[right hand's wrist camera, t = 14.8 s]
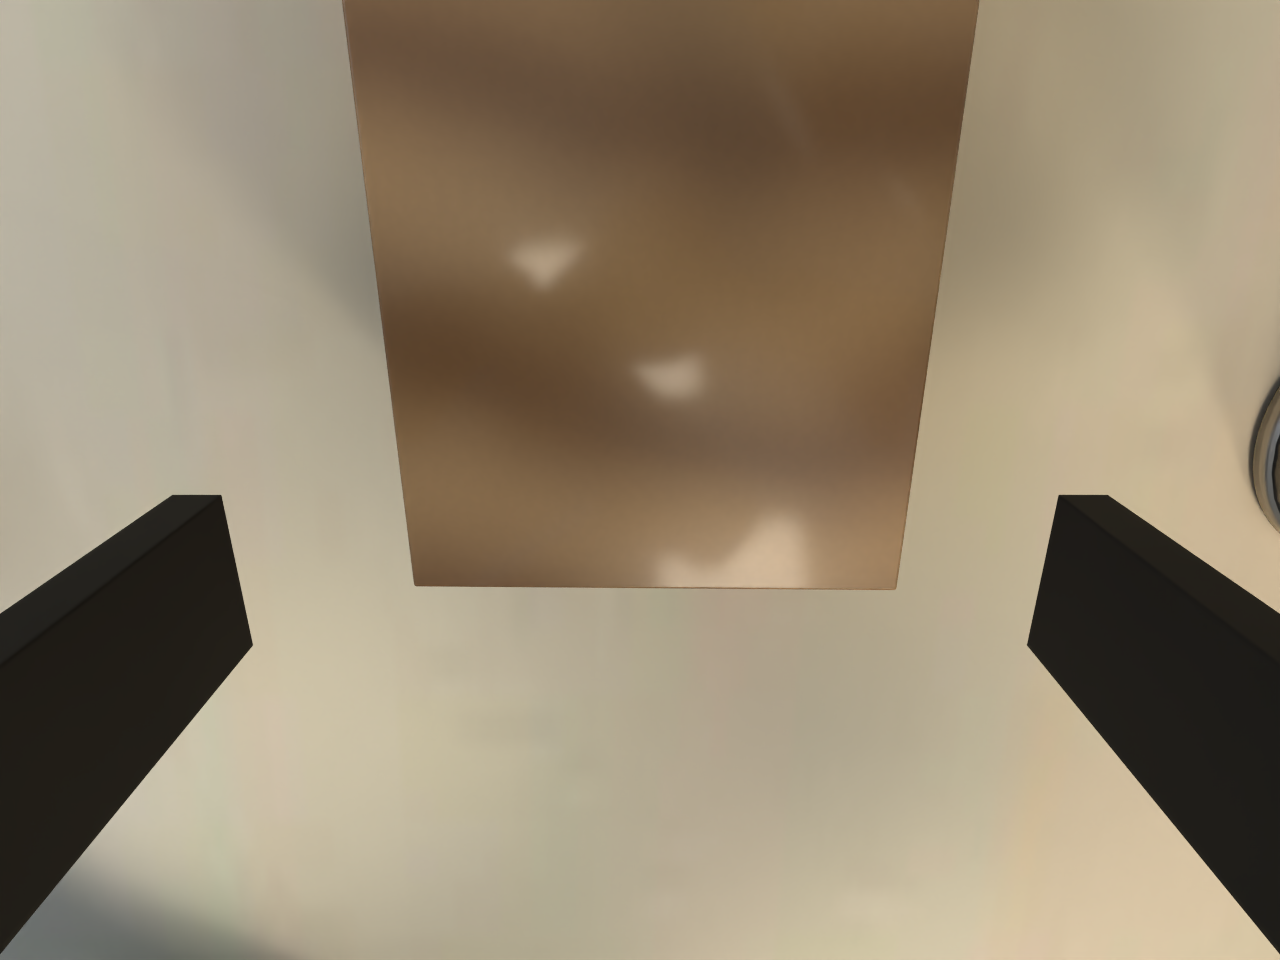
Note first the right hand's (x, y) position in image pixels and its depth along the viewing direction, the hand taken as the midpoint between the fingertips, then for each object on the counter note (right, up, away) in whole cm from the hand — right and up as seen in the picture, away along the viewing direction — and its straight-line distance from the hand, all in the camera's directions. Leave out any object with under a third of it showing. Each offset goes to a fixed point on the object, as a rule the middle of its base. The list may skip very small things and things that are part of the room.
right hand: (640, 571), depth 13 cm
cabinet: (0, +12, +9) cm, 15 cm away
